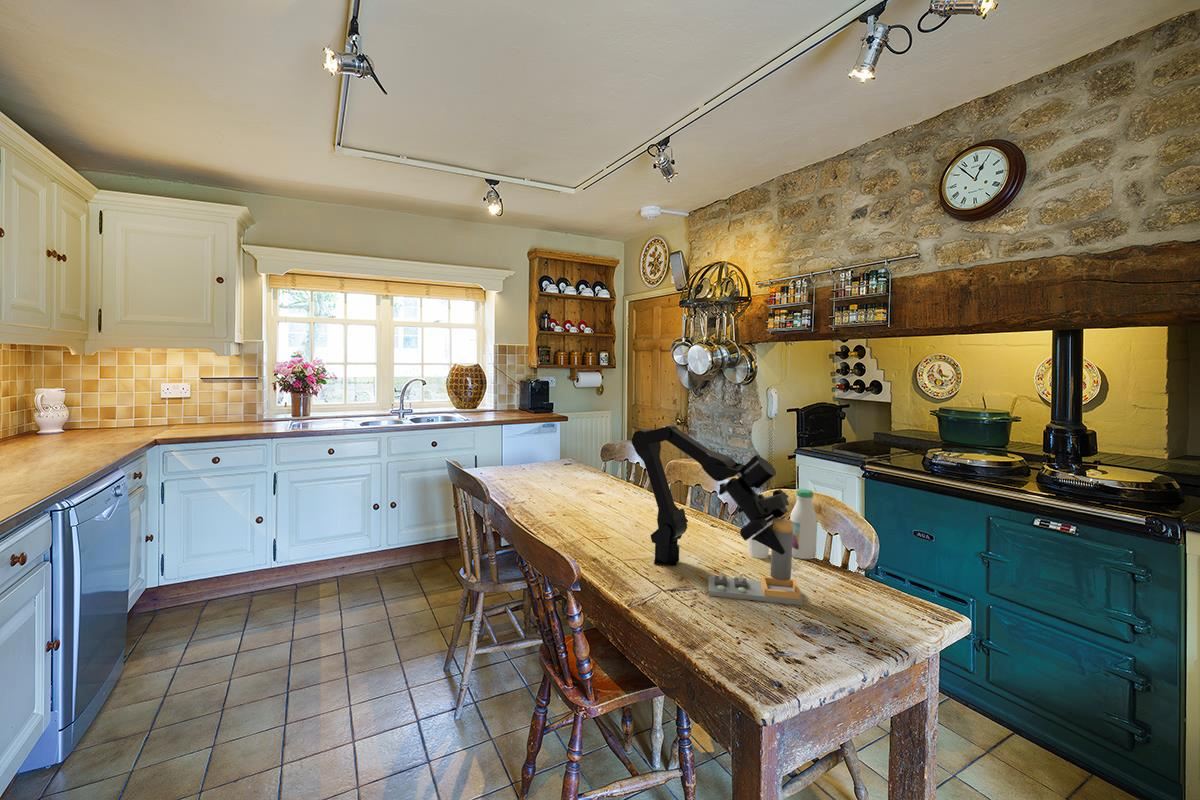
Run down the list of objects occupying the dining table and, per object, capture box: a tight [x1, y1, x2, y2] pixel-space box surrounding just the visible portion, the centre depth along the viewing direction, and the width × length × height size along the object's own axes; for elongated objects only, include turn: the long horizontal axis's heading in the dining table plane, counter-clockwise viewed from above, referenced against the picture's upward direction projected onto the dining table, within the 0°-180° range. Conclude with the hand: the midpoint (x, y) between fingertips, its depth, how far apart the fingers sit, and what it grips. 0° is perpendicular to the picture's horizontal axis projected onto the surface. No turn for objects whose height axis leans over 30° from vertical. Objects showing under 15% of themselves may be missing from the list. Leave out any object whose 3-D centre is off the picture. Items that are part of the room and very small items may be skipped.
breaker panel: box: [707, 570, 803, 606], centre depth 129 cm, size 22×9×4 cm, turn 79°
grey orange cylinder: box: [769, 518, 793, 581], centre depth 127 cm, size 5×5×14 cm
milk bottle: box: [789, 488, 818, 560], centre depth 155 cm, size 8×8×20 cm
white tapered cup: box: [747, 534, 770, 560], centre depth 155 cm, size 7×7×7 cm
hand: (787, 550), depth 126 cm, fingers closed on grey orange cylinder, 5 cm apart
